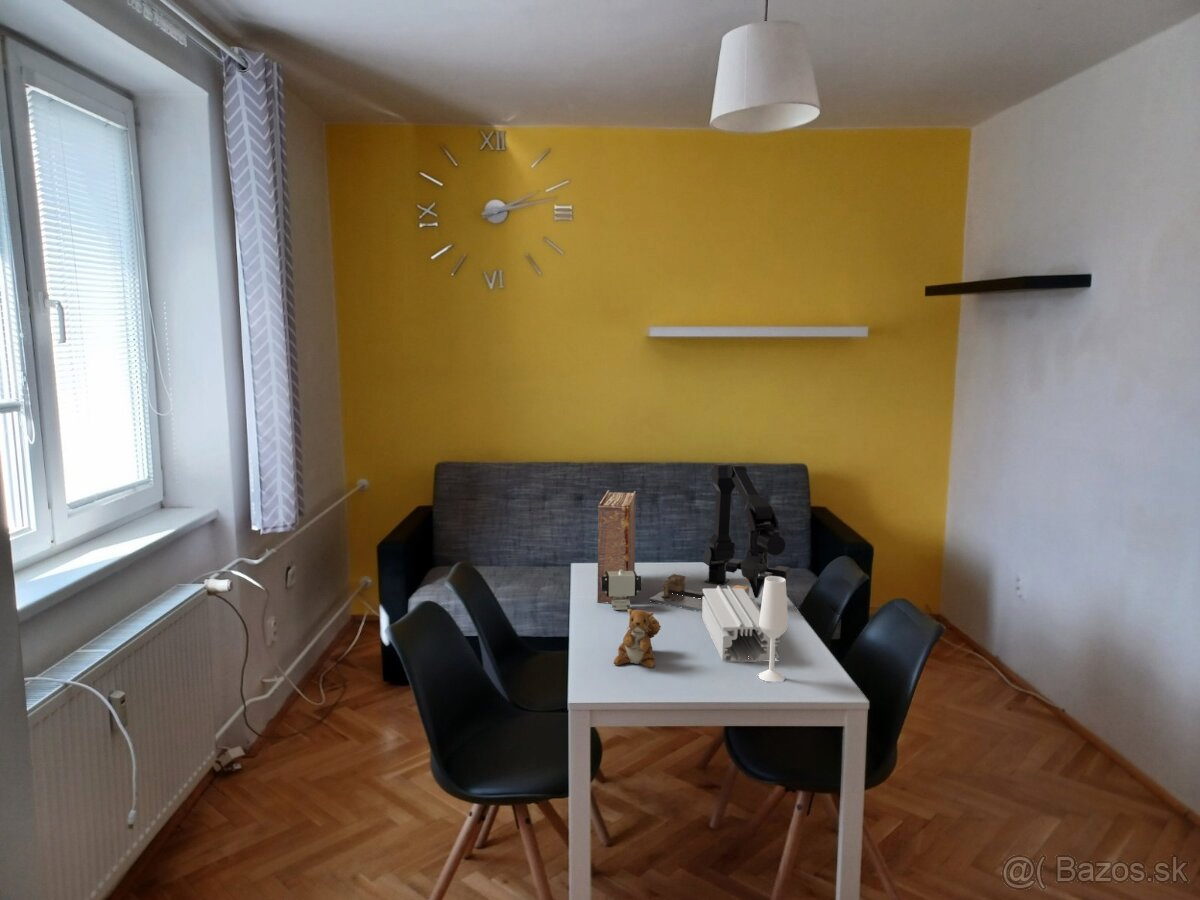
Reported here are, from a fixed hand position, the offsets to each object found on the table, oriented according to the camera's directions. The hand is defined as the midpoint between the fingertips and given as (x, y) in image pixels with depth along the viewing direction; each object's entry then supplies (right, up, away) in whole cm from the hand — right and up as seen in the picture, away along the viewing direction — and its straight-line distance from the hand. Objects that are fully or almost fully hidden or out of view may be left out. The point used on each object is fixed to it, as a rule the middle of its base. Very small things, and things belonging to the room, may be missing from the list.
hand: (756, 597), depth 235 cm
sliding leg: (-6, -2, 0) cm, 6 cm away
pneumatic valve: (-40, -3, -1) cm, 41 cm away
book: (-41, -1, +16) cm, 44 cm away
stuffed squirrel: (-37, -9, -37) cm, 53 cm away
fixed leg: (-24, 0, +11) cm, 26 cm away
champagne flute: (-6, -10, -48) cm, 49 cm away
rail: (-13, -2, +8) cm, 15 cm away
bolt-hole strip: (-19, -3, +3) cm, 19 cm away
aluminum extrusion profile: (-10, -7, -23) cm, 26 cm away
